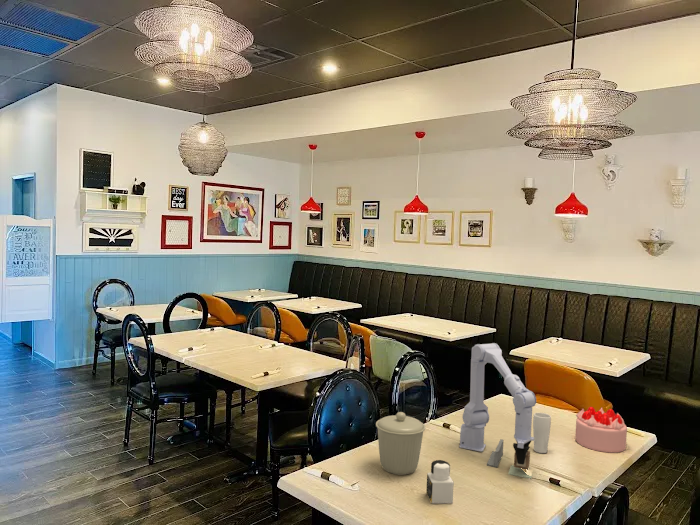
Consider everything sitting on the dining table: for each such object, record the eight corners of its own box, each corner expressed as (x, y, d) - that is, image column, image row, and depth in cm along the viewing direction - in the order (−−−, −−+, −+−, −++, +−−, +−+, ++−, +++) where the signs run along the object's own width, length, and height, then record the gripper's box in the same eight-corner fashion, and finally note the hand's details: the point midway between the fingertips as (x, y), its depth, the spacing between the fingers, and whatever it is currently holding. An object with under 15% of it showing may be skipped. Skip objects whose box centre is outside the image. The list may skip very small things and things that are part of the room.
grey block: (486, 465, 201) (487, 449, 201) (492, 452, 214) (493, 437, 214) (497, 467, 200) (498, 451, 199) (502, 454, 212) (503, 439, 212)
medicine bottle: (426, 493, 177) (427, 457, 177) (447, 493, 178) (448, 457, 177) (431, 503, 170) (432, 467, 170) (452, 503, 171) (454, 467, 170)
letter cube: (513, 467, 195) (514, 453, 194) (515, 461, 199) (516, 448, 199) (528, 470, 193) (528, 455, 192) (529, 464, 197) (530, 450, 197)
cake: (620, 457, 214) (622, 422, 213) (568, 444, 226) (570, 411, 225) (629, 443, 230) (631, 411, 229) (580, 432, 242) (582, 401, 241)
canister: (427, 463, 201) (430, 408, 200) (417, 483, 184) (420, 423, 183) (381, 455, 207) (383, 402, 206) (368, 474, 190) (370, 416, 189)
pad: (508, 474, 194) (508, 473, 194) (511, 466, 202) (511, 465, 202) (531, 478, 191) (531, 477, 191) (533, 470, 198) (533, 469, 198)
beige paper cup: (550, 455, 213) (552, 418, 212) (532, 453, 214) (534, 416, 214) (547, 449, 220) (549, 413, 219) (530, 447, 221) (532, 411, 220)
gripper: (532, 432, 187) (531, 470, 188) (536, 420, 201) (534, 455, 201) (512, 429, 190) (510, 466, 191) (516, 417, 203) (515, 452, 204)
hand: (521, 460), depth 196 cm, fingers closed on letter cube, 5 cm apart
